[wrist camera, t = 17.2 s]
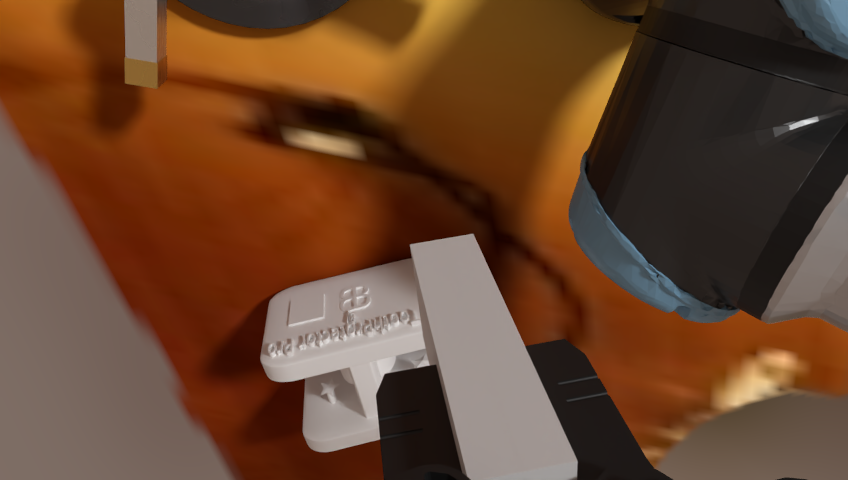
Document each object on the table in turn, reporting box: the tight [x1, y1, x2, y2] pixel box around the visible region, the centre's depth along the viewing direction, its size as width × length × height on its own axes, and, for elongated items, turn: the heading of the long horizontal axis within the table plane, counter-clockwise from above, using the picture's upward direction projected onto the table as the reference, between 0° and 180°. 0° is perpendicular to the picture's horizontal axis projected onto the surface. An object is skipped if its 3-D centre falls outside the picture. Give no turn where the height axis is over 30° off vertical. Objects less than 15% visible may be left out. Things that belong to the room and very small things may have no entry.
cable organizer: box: [260, 258, 430, 452], centre depth 51 cm, size 15×11×12 cm
